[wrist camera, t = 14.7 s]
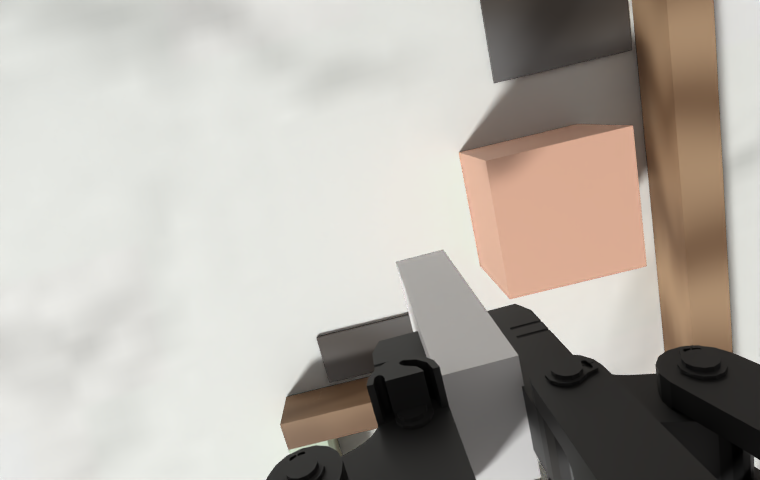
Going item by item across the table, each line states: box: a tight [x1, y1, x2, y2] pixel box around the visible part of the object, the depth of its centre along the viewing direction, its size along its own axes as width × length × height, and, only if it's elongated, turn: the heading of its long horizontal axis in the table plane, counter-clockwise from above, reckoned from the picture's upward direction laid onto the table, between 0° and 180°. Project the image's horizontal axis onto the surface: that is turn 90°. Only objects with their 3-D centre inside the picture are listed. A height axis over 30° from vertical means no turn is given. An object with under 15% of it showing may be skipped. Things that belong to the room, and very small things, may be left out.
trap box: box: [280, 0, 733, 456], centre depth 24 cm, size 33×23×4 cm
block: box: [459, 124, 647, 299], centre depth 22 cm, size 6×6×5 cm
